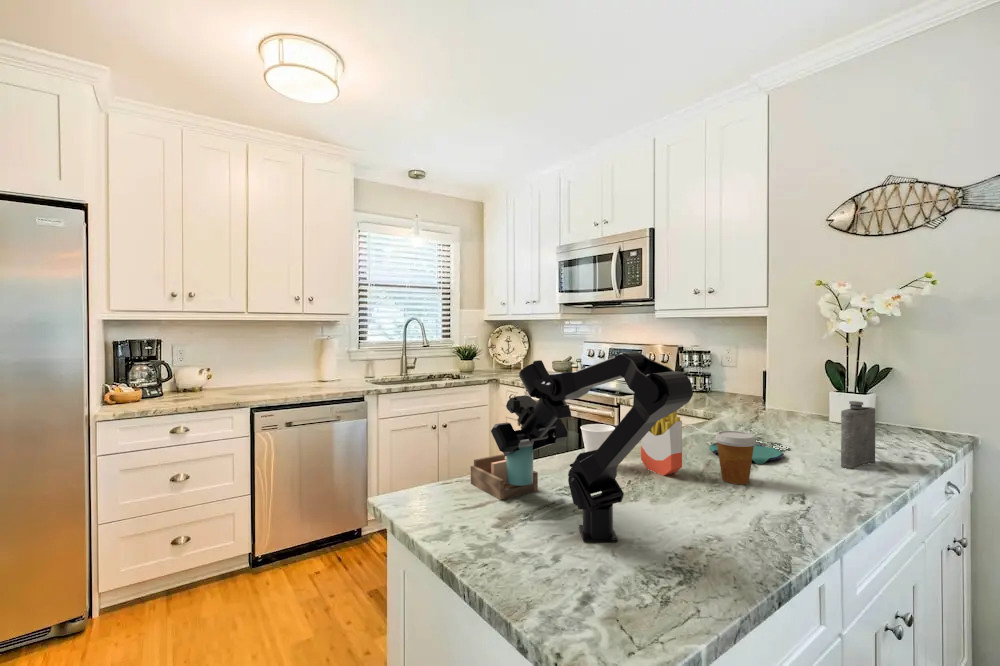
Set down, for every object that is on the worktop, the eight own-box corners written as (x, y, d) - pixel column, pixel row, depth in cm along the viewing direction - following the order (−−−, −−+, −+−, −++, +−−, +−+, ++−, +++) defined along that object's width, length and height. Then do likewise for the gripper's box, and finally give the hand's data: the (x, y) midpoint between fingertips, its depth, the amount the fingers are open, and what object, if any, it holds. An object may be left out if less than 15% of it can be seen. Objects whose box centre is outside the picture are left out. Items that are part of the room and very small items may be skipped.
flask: (835, 466, 133) (835, 402, 133) (862, 459, 139) (863, 398, 139) (850, 469, 130) (850, 404, 129) (877, 462, 136) (877, 400, 136)
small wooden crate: (537, 490, 116) (537, 466, 116) (500, 500, 110) (500, 474, 110) (506, 475, 128) (505, 453, 128) (470, 483, 122) (470, 460, 122)
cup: (616, 471, 130) (616, 432, 130) (580, 469, 132) (579, 430, 132) (615, 461, 140) (614, 424, 140) (581, 459, 142) (581, 423, 142)
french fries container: (670, 478, 124) (669, 410, 123) (639, 468, 133) (639, 404, 133) (682, 476, 126) (682, 409, 125) (651, 465, 135) (651, 403, 135)
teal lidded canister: (524, 487, 108) (524, 444, 108) (500, 482, 112) (499, 440, 112) (539, 479, 114) (539, 438, 113) (515, 474, 117) (515, 434, 117)
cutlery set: (697, 453, 147) (697, 446, 147) (744, 440, 166) (744, 433, 165) (764, 469, 132) (764, 461, 132) (807, 453, 150) (808, 446, 150)
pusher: (521, 480, 119) (521, 458, 119) (493, 487, 115) (493, 464, 115) (518, 479, 120) (518, 457, 120) (491, 485, 116) (491, 462, 116)
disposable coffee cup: (713, 483, 120) (713, 436, 120) (716, 472, 128) (716, 428, 128) (756, 489, 115) (756, 440, 115) (755, 477, 124) (755, 432, 124)
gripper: (559, 382, 114) (532, 420, 124) (495, 388, 104) (470, 429, 113) (582, 420, 108) (552, 457, 117) (515, 431, 97) (488, 470, 107)
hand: (516, 452), depth 114 cm, fingers closed on teal lidded canister, 6 cm apart
